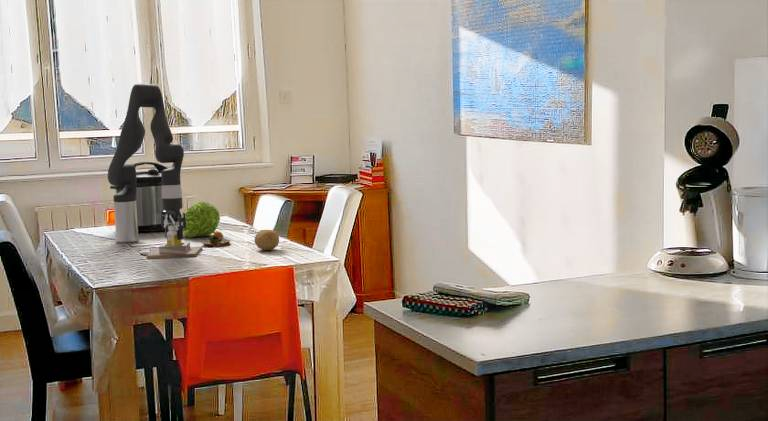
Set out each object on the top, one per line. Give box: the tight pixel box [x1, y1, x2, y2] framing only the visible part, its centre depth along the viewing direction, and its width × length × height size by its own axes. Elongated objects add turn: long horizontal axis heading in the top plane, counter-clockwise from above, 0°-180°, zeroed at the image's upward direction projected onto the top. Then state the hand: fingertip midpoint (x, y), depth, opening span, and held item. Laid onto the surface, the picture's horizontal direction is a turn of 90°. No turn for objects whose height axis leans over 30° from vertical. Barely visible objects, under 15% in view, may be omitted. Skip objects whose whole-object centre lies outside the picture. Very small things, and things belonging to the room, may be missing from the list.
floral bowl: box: [201, 230, 231, 248], centre depth 366 cm, size 12×12×8 cm
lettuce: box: [182, 201, 221, 238], centre depth 395 cm, size 15×25×16 cm
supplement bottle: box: [166, 225, 182, 246], centre depth 345 cm, size 5×5×10 cm
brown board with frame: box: [146, 241, 203, 260], centre depth 346 cm, size 18×18×4 cm
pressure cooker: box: [109, 161, 173, 232], centre depth 420 cm, size 30×28×32 cm
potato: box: [254, 229, 280, 251], centre depth 349 cm, size 10×14×8 cm
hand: (174, 238), depth 345 cm, fingers open, 8 cm apart
